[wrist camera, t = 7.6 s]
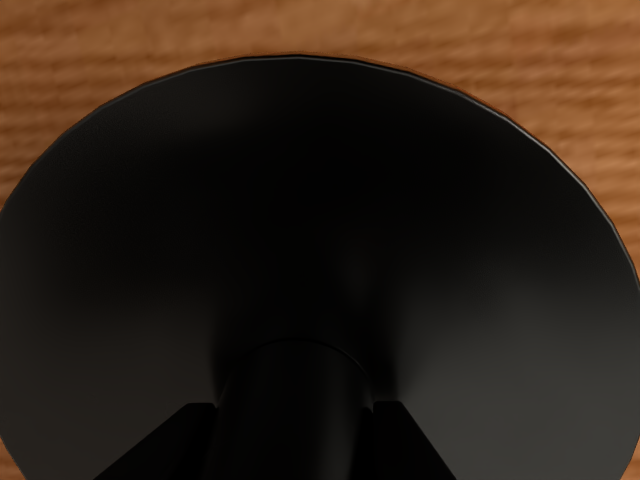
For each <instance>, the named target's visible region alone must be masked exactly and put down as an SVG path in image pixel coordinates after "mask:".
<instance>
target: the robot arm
mask: <svg viewBox="0 0 640 480" xmlns="http://www.w3.org/2000/svg"><path fill="white" fill-rule="evenodd" d="M215 411H216V407H215V405H214V404H212V403H188V404H186V405H184V406H183V407H182V408H180V409H179V410H178V411H177V412H176V413H174V414H173V415H172V416H171V417H169V418H168V419H167V420H166V421H164V422H163V423H162V424H161V425H160V426H158V427H157V428H156V429H155V430H153V431H152V432H151V433H150V434H148V435H147V436H146V437H145V438H143V439H142V440H141V441H140V442H139V443H137V444H136V445H135V446H134V447H132V448H131V449H130V450H129V451H127V452H126V453H125V454H124V455H122V456H121V457H120V458H119V459H118V460H116V461H115V462H114V463H113V464H111V465H110V466H109V467H108V468H106V469H105V470H104V471H103V472H102V473H100V474H99V475H98V476H97V477H95V478H94V479H93V480H190V479H191V476H192V473H193V470H194V468H195V465H196V462H197V460H198V457H199V454H200V452H201V449H202V446H203V444H204V441H205V438H206V435H207V433H208V430H209V427H210V425H211V422H212V419H213V417H214V414H215ZM373 469H374V480H457V479H456V477H455V476H454V475H453V473H452V472H451V470H450V469H449V468H448V466H447V465H446V463H445V462H444V461H443V459H442V458H441V456H440V455H439V454H438V452H437V451H436V449H435V448H434V447H433V445H432V444H431V442H430V441H429V439H428V438H427V437H426V435H425V434H424V432H423V431H422V430H421V428H420V427H419V425H418V424H417V423H416V421H415V420H414V418H413V417H412V416H411V414H410V413H409V411H408V410H407V409H406V407H405V406H404V405H403V403H402V402H400V401H376V402H374V404H373Z"/></svg>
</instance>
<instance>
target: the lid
mask: <svg viewBox="0 0 640 480" xmlns="http://www.w3.org/2000/svg"><path fill="white" fill-rule="evenodd" d="M376 401H400V402H402V403H403V405H404V406H405V407H406V409H407V410H408V411H409V413H410V414H411V416H412V417H413V418H414V420H415V421H416V423H417V424H418V425H419V427H420V428H421V430H422V431H423V432H424V434H425V435H426V437H427V438H428V439H429V441H430V442H431V444H432V445H433V447H434V448H435V449H436V451H437V452H438V454H439V455H440V456H441V458H442V459H443V461H444V462H445V463H446V465H447V466H448V468H449V469H450V470H451V472H452V473H453V475H454V476H455V477H456V479H457V480H620V479H621V477H622V475H623V473H624V471H625V470H626V468H627V466H628V464H629V462H630V461H631V459H632V456H633V453H634V450H635V448H636V445H637V442H638V439H639V437H640V281H639V278H638V275H637V272H636V269H635V266H634V263H633V261H632V259H631V257H630V255H629V253H628V251H627V249H626V247H625V245H624V243H623V241H622V239H621V237H620V235H619V233H618V231H617V229H616V227H615V225H614V223H613V221H612V220H611V219H610V217H609V216H608V215H607V213H606V212H605V210H604V209H603V208H602V206H601V205H600V204H599V202H598V201H597V199H596V198H595V197H594V195H593V194H592V192H591V191H590V190H589V188H588V187H587V186H586V184H585V183H584V182H583V181H582V180H581V179H580V178H579V177H578V176H577V175H576V174H575V173H574V172H573V171H572V170H571V169H570V168H569V167H568V166H567V165H566V164H565V163H564V162H563V161H562V160H561V159H560V158H559V157H558V156H557V155H556V154H555V153H554V152H553V151H552V150H551V149H550V148H549V147H548V146H547V145H546V144H545V143H544V142H543V141H541V140H540V139H539V138H537V137H536V136H535V135H533V134H532V133H531V132H529V131H528V130H527V129H525V128H524V127H523V126H521V125H520V124H519V123H517V122H516V121H515V120H513V119H512V118H511V117H509V116H508V115H507V114H505V113H504V112H503V111H501V110H499V109H497V108H496V107H494V106H492V105H490V104H488V103H486V102H485V101H483V100H481V99H479V98H477V97H475V96H474V95H472V94H470V93H468V92H466V91H465V90H463V89H461V88H459V87H457V86H455V85H452V84H450V83H447V82H444V81H442V80H439V79H436V78H434V77H431V76H428V75H426V74H423V73H421V72H418V71H415V70H413V69H410V68H407V67H403V66H399V65H394V64H390V63H386V62H381V61H377V60H373V59H368V58H364V57H359V56H355V55H343V54H332V53H321V52H310V51H289V52H269V53H250V54H244V55H239V56H234V57H229V58H223V59H218V60H213V61H208V62H202V63H198V64H196V65H193V66H190V67H187V68H184V69H181V70H178V71H175V72H172V73H169V74H167V75H164V76H161V77H158V78H155V79H152V80H150V81H147V82H145V83H143V84H141V85H139V86H137V87H135V88H133V89H131V90H129V91H127V92H125V93H123V94H121V95H120V96H118V97H116V98H114V99H112V100H110V101H108V102H106V103H104V104H102V105H100V106H99V107H98V108H96V109H95V110H93V111H92V112H91V113H89V114H88V115H87V116H85V117H84V118H83V119H81V120H80V121H78V122H77V123H76V124H74V125H73V126H72V127H70V128H69V129H68V130H66V131H65V132H63V133H62V134H61V135H60V136H59V137H58V138H57V139H56V140H55V141H54V142H53V143H52V144H51V145H50V146H49V147H48V148H47V149H46V150H45V151H44V152H43V153H42V154H41V155H40V156H39V157H38V158H37V160H36V161H35V162H34V163H33V164H32V165H31V166H30V167H29V169H28V170H27V172H26V173H25V174H24V176H23V177H22V179H21V180H20V181H19V183H18V184H17V186H16V187H15V188H14V190H13V191H12V193H11V194H10V196H9V197H8V198H7V200H6V202H5V204H4V206H3V208H2V210H1V212H0V437H1V439H2V441H3V443H4V445H5V447H6V449H7V451H8V452H9V454H10V456H11V457H12V459H13V460H14V462H15V463H16V465H17V466H18V468H19V470H20V471H21V473H22V474H23V476H24V477H25V479H26V480H93V479H94V478H95V477H97V476H98V475H99V474H100V473H102V472H103V471H104V470H105V469H106V468H108V467H109V466H110V465H111V464H113V463H114V462H115V461H116V460H118V459H119V458H120V457H121V456H122V455H124V454H125V453H126V452H127V451H129V450H130V449H131V448H132V447H134V446H135V445H136V444H137V443H139V442H140V441H141V440H142V439H143V438H145V437H146V436H147V435H148V434H150V433H151V432H152V431H153V430H155V429H156V428H157V427H158V426H160V425H161V424H162V423H163V422H164V421H166V420H167V419H168V418H169V417H171V416H172V415H173V414H174V413H176V412H177V411H178V410H179V409H180V408H182V407H183V406H184V405H186V404H188V403H212V404H214V405H215V407H216V411H215V414H214V417H213V419H212V422H211V425H210V427H209V430H208V433H207V435H206V438H205V441H204V444H203V446H202V449H201V452H200V454H199V457H198V460H197V462H196V465H195V468H194V470H193V473H192V476H191V479H190V480H374V469H373V404H374V402H376Z"/></svg>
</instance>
